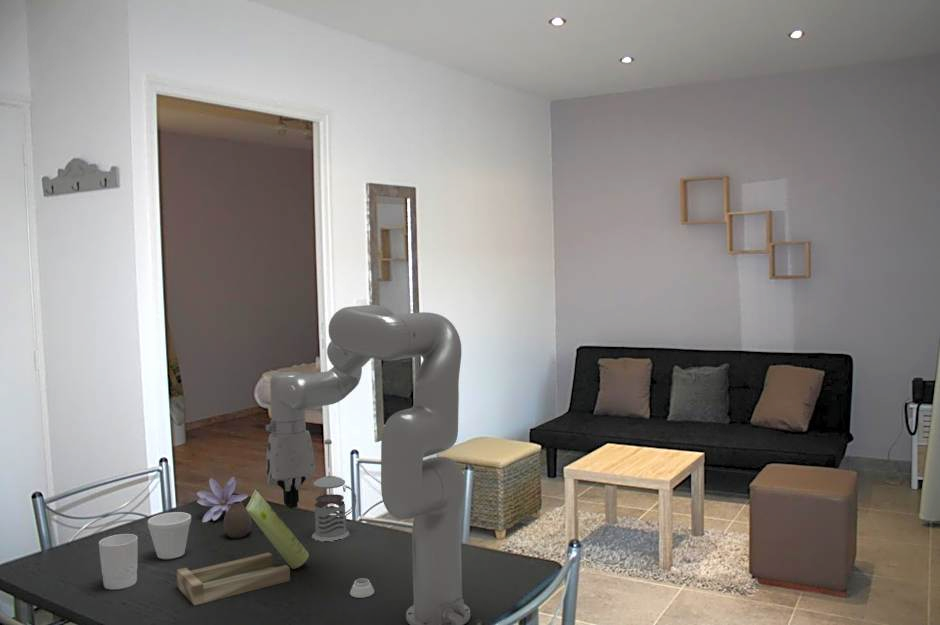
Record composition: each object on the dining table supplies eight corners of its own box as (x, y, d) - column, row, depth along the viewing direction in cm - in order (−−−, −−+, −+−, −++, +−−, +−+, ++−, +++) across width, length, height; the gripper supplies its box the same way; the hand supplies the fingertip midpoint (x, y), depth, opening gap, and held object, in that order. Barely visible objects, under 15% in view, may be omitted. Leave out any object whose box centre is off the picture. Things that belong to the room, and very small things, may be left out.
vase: (222, 534, 214) (220, 500, 214) (249, 529, 217) (248, 497, 217) (226, 542, 208) (225, 508, 207) (254, 537, 211) (252, 504, 210)
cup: (140, 561, 195) (138, 523, 195) (165, 547, 205) (163, 510, 204) (177, 564, 193) (175, 525, 192) (201, 549, 203) (199, 513, 202)
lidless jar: (359, 601, 170) (378, 594, 174) (359, 587, 170) (378, 580, 173) (345, 594, 174) (364, 588, 177) (345, 581, 174) (364, 574, 177)
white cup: (128, 574, 187) (126, 531, 187) (146, 582, 182) (144, 538, 182) (94, 585, 181) (92, 541, 181) (112, 594, 176) (109, 548, 176)
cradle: (290, 580, 182) (289, 563, 181) (194, 605, 169) (193, 586, 169) (269, 565, 191) (268, 548, 191) (177, 587, 179) (176, 569, 179)
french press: (308, 531, 214) (305, 437, 213) (352, 526, 219) (349, 433, 217) (315, 543, 205) (312, 444, 204) (360, 537, 209) (358, 440, 208)
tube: (313, 556, 188) (263, 492, 183) (296, 572, 186) (245, 508, 180) (304, 551, 193) (255, 489, 188) (288, 567, 191) (237, 504, 185)
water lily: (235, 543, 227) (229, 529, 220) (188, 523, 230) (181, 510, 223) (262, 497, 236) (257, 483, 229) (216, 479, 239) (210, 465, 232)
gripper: (263, 434, 179) (266, 517, 180) (326, 425, 188) (328, 504, 189) (250, 428, 185) (253, 508, 186) (312, 420, 194) (314, 496, 195)
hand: (291, 506), depth 188 cm, fingers closed
